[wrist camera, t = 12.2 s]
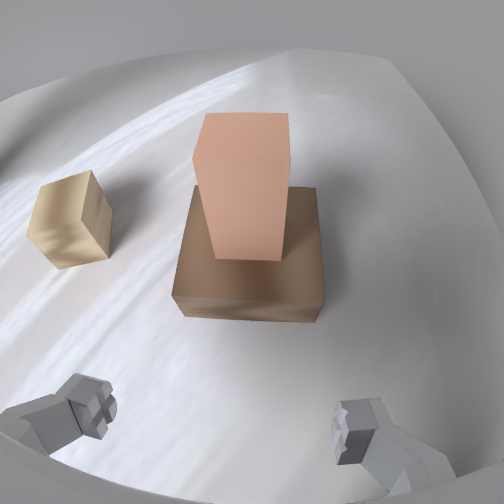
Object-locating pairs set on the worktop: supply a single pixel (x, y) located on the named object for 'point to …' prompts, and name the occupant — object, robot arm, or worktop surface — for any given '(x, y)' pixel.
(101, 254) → the oak cube
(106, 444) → the worktop surface
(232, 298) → the walnut block
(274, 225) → the terracotta block
